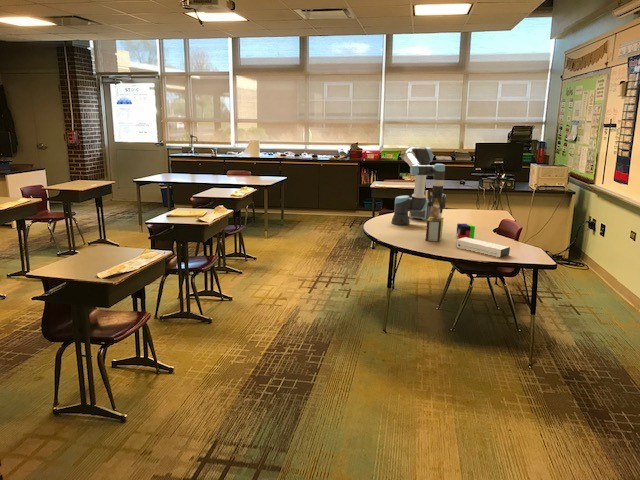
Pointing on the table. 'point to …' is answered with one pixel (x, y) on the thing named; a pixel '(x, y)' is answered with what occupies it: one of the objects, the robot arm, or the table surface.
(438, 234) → the protein box
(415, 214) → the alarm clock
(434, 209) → the walnut block
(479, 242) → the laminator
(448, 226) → the table surface
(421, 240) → the table surface
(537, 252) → the table surface
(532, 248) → the table surface
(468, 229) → the puzzle toy
